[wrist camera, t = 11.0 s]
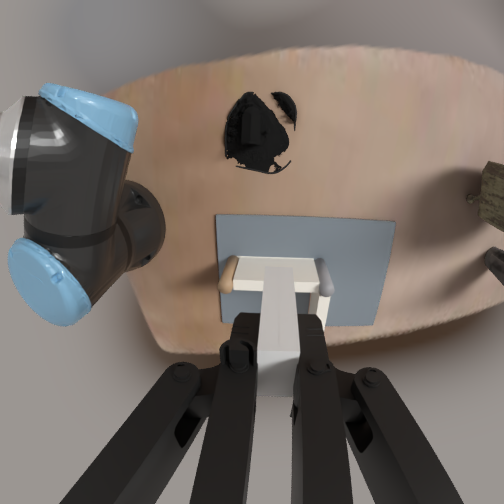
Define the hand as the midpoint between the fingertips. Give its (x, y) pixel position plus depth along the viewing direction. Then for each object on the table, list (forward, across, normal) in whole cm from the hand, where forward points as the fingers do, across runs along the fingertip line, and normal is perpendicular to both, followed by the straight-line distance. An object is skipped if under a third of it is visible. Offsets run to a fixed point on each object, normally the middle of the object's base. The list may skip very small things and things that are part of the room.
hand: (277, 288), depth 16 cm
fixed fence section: (+26, 0, -11) cm, 28 cm away
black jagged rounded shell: (+27, -2, +9) cm, 29 cm away
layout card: (+26, +5, -13) cm, 30 cm away
